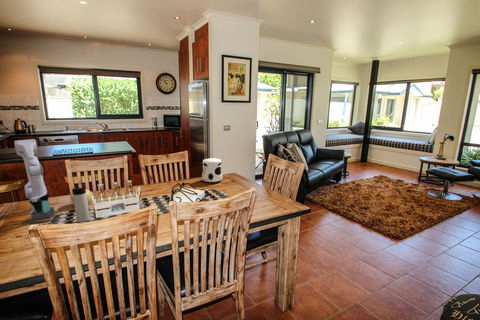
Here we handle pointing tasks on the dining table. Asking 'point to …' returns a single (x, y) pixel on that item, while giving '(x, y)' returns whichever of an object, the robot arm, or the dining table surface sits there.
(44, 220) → the mounting board
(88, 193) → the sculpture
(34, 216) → the cup bracket
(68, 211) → the dining table surface
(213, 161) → the milk container
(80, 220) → the travel mug
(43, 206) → the teal rectangular block
